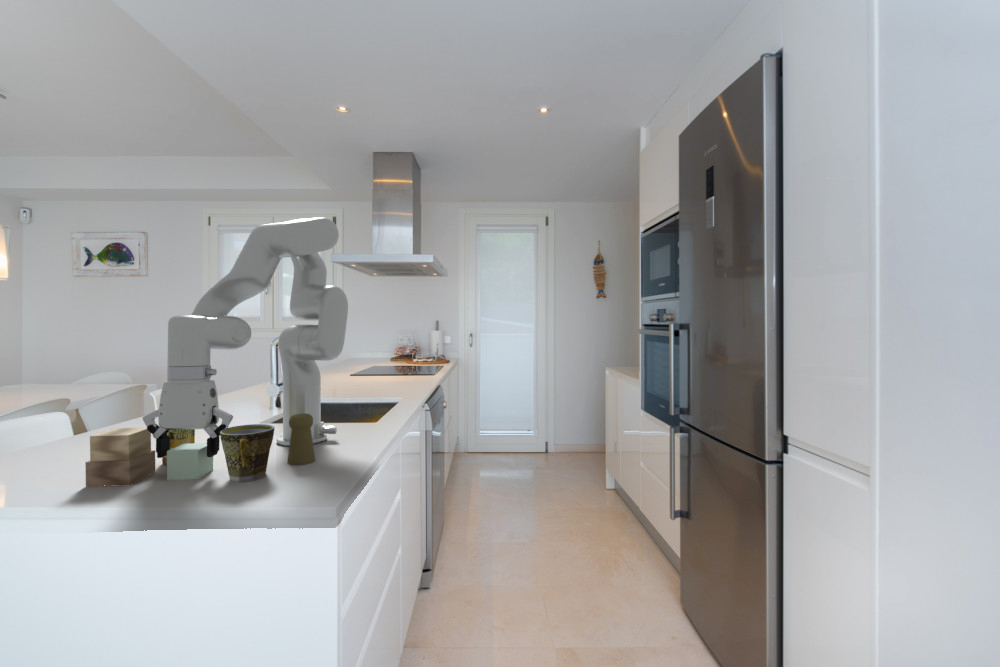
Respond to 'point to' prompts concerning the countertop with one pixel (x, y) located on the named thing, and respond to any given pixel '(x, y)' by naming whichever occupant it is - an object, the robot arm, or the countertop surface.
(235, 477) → the ceramic cup
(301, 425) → the cork
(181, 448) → the sage block
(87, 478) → the walnut block
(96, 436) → the oak block
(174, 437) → the sauce bottle
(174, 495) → the countertop surface
